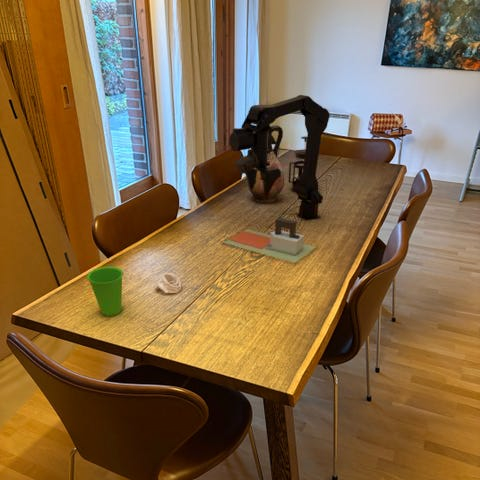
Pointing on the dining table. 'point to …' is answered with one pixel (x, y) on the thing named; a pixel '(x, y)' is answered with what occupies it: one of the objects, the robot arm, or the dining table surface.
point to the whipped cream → (166, 285)
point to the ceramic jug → (273, 160)
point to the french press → (300, 155)
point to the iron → (285, 238)
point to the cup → (107, 289)
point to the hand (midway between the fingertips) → (258, 192)
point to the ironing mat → (264, 245)
